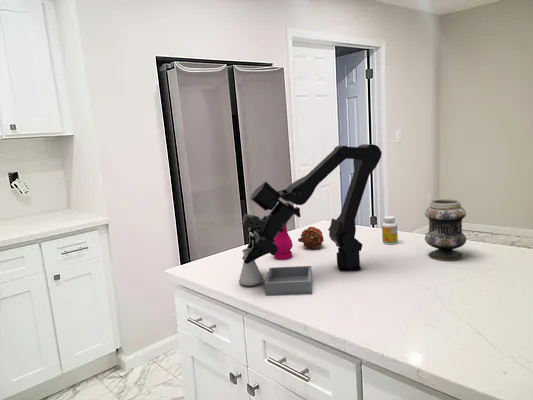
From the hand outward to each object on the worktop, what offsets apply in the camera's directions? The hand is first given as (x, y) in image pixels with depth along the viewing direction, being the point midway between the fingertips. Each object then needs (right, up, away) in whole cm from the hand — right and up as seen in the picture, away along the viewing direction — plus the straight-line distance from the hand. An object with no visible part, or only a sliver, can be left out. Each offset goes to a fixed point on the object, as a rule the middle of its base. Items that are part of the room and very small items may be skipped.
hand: (244, 261), depth 117 cm
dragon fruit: (+24, 0, +33) cm, 41 cm away
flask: (+2, -7, +1) cm, 7 cm away
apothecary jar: (+64, 0, +10) cm, 65 cm away
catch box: (+13, -7, -3) cm, 15 cm away
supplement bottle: (+53, +2, +29) cm, 60 cm away
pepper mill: (+13, -2, +24) cm, 27 cm away
